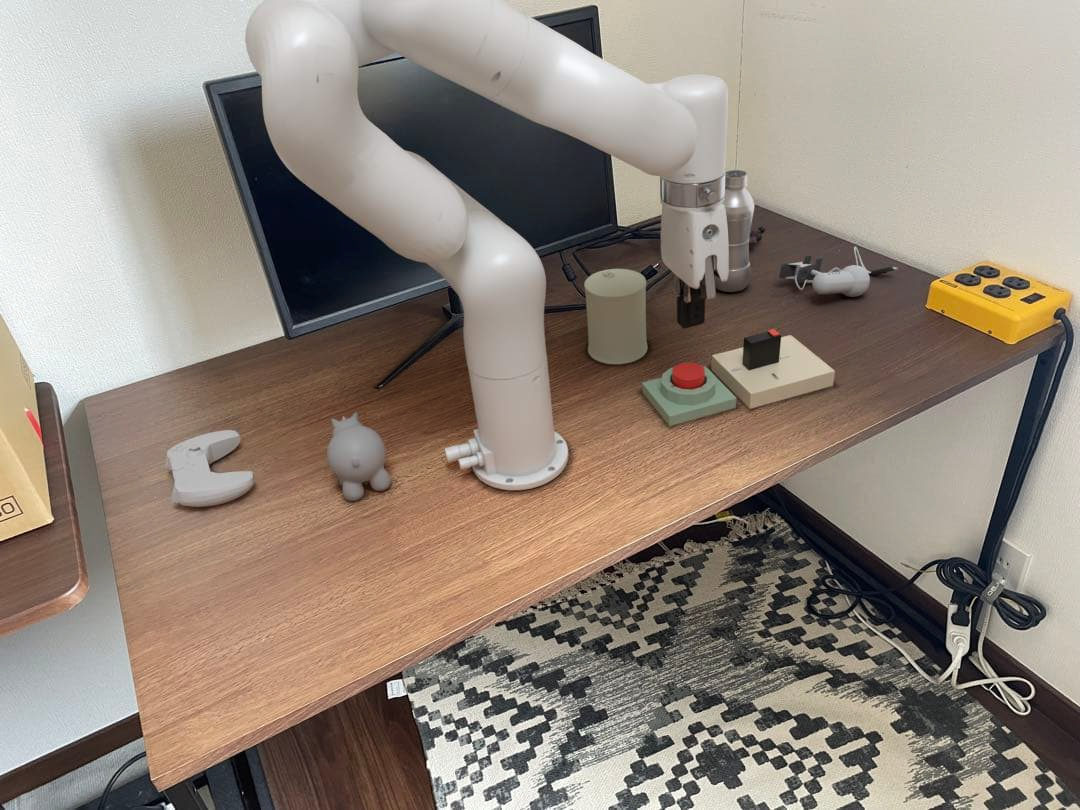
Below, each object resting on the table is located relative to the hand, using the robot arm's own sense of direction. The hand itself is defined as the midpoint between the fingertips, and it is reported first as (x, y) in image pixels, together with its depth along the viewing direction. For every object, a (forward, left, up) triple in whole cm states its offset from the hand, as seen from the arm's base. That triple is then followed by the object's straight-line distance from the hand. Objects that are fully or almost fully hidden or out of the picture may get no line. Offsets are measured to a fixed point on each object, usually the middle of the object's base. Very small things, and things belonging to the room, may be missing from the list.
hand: (690, 323), depth 106 cm
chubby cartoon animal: (-46, +3, -12) cm, 47 cm away
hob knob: (+11, 0, -10) cm, 15 cm away
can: (-4, +17, -12) cm, 21 cm away
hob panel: (+13, 0, -12) cm, 18 cm away
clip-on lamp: (+37, +19, -12) cm, 44 cm away
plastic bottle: (+21, +27, -12) cm, 37 cm away
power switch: (0, 0, -12) cm, 12 cm away
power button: (0, 0, -9) cm, 9 cm away
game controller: (-65, +10, -12) cm, 67 cm away
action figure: (+26, +39, -12) cm, 49 cm away
